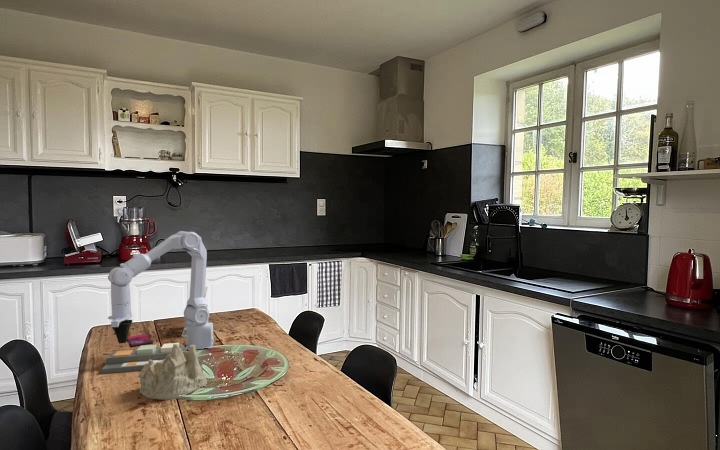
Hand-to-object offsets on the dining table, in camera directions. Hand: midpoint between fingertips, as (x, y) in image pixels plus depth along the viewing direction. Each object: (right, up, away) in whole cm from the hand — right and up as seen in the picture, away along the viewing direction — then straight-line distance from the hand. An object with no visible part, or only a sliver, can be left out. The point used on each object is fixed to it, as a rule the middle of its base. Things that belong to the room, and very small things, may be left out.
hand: (122, 342), depth 148 cm
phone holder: (+10, -6, +39) cm, 41 cm away
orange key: (0, -6, 0) cm, 5 cm away
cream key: (+15, -4, +3) cm, 16 cm away
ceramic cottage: (+26, -8, -20) cm, 34 cm away
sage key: (+7, -4, +2) cm, 9 cm away
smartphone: (-8, -7, +26) cm, 28 cm away
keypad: (+7, -7, +2) cm, 10 cm away
